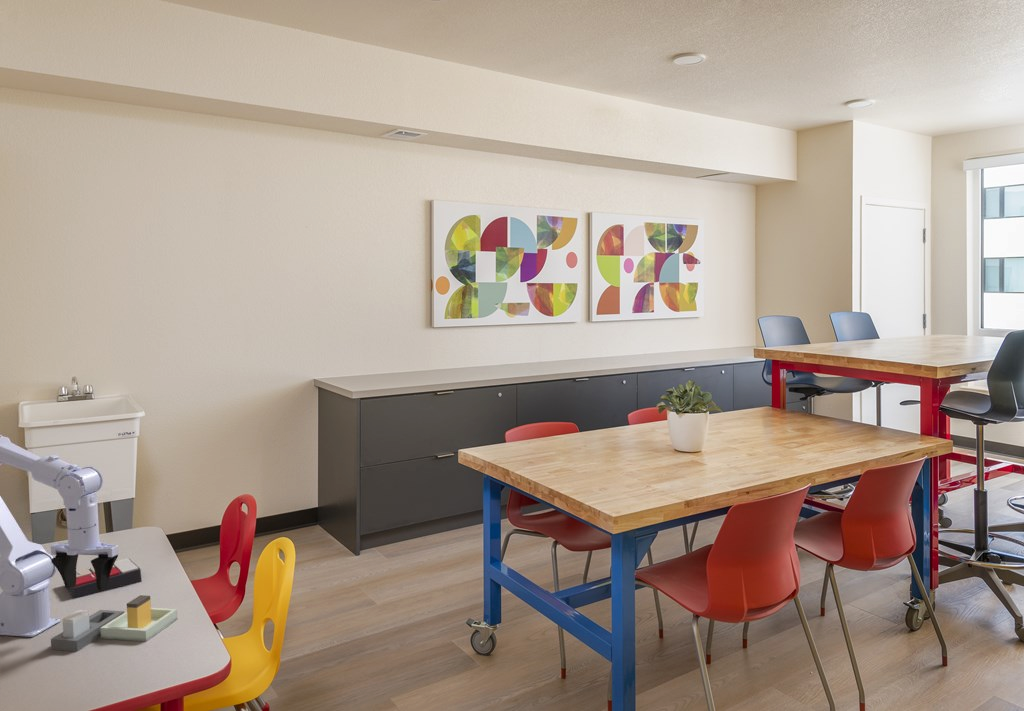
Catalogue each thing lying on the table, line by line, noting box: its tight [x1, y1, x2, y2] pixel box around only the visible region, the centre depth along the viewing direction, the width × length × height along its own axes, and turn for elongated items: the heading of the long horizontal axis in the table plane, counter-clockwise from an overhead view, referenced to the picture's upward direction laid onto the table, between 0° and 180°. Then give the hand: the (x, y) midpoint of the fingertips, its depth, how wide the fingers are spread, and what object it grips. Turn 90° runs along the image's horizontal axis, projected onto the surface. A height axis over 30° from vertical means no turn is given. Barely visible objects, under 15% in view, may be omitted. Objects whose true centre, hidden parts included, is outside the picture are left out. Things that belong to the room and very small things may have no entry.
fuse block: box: [50, 609, 125, 652], centre depth 151 cm, size 6×14×2 cm, turn 171°
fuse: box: [61, 609, 90, 638], centre depth 148 cm, size 2×4×6 cm, turn 171°
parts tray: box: [100, 607, 178, 642], centre depth 154 cm, size 11×11×2 cm
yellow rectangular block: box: [126, 594, 152, 629], centre depth 154 cm, size 2×4×6 cm, turn 172°
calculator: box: [66, 557, 143, 599], centre depth 179 cm, size 11×4×15 cm
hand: (86, 587), depth 152 cm, fingers open, 7 cm apart
